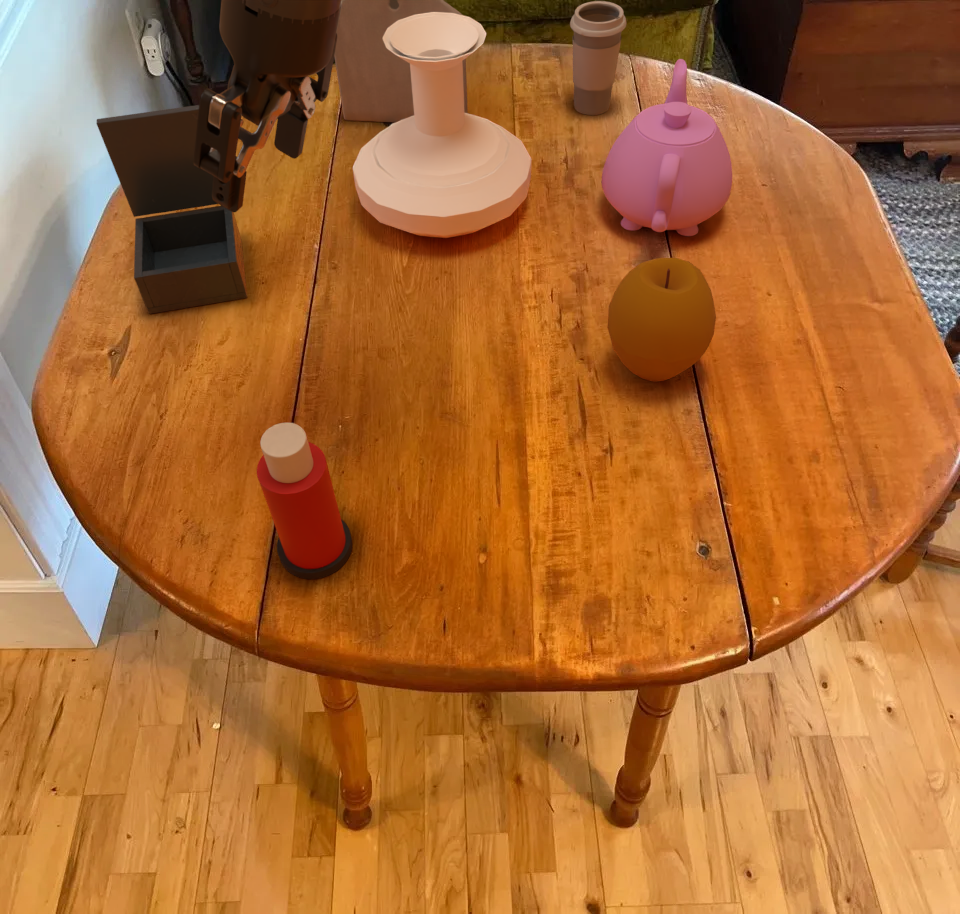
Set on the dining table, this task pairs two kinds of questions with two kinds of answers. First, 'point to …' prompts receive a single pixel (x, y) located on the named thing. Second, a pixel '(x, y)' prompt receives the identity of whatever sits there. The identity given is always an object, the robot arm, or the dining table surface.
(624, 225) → the teapot
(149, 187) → the box lid
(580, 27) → the cup
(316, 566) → the sauce bottle
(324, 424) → the dining table surface
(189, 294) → the box
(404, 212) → the candle holder
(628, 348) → the apple
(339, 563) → the black coaster
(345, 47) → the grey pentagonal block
